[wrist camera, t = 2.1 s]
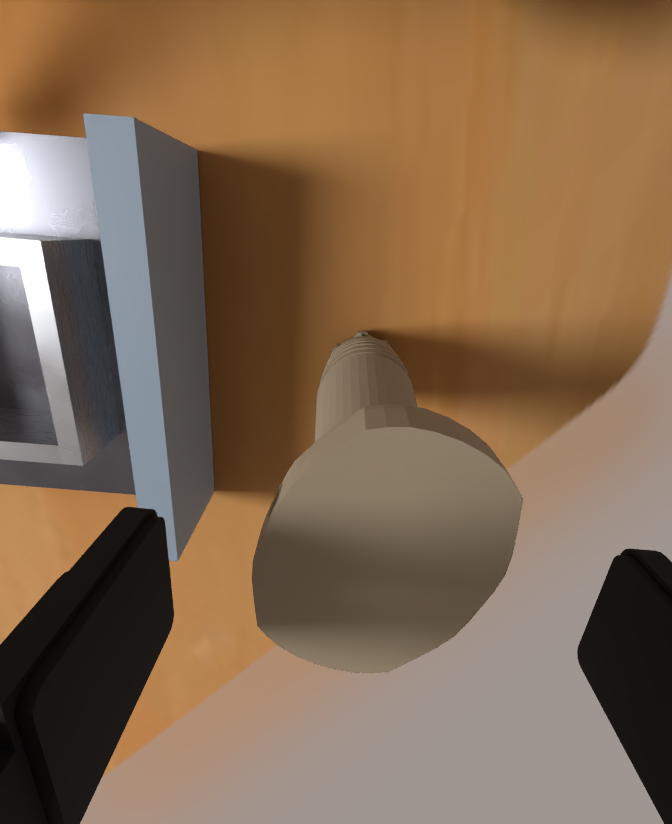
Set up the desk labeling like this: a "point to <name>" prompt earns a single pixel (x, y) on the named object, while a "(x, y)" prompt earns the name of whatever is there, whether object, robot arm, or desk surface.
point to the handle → (381, 523)
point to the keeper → (56, 325)
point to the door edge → (157, 313)
